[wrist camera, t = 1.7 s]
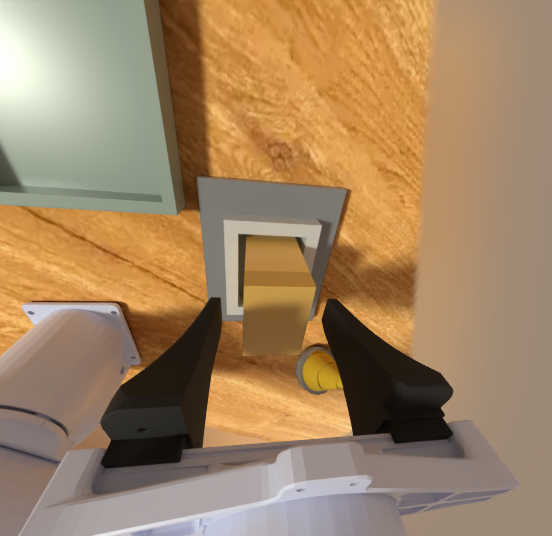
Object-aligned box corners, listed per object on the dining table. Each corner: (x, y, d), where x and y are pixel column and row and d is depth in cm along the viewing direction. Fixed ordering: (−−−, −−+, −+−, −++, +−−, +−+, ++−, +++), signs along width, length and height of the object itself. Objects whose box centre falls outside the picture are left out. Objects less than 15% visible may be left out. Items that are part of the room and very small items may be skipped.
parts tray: (185, 206, 16) (177, 215, 14) (-6, 193, 14) (-44, 202, 13) (149, -72, 9) (124, -122, 8) (-213, -156, 8) (-359, -247, 6)
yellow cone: (280, 353, 28) (326, 371, 19) (311, 337, 30) (365, 347, 21) (293, 392, 28) (346, 430, 19) (324, 373, 30) (384, 398, 21)
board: (310, 315, 24) (315, 331, 22) (211, 315, 22) (208, 332, 20) (343, 187, 17) (355, 194, 15) (199, 175, 15) (191, 181, 13)
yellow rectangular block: (285, 292, 21) (299, 354, 15) (245, 291, 20) (242, 356, 14) (294, 236, 17) (316, 287, 12) (246, 233, 17) (243, 285, 11)
